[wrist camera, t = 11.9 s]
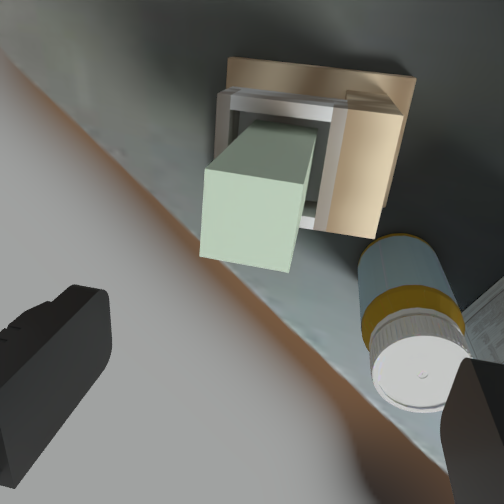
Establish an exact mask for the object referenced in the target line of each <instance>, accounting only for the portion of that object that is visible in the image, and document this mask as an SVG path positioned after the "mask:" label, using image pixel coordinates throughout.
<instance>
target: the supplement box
mask: <svg viewBox="0 0 504 504" xmlns="http://www.w3.org/2000/svg"><path fill="white" fill-rule="evenodd" d="M461 314H462V316H463V320H464V323H465V336H464V338H465V340H466V342H467V345H468V347H469V350H470V352H471V355H472V357H473V359H478V360H483V361H489V362H494V363H500V364H504V277H502V278H501V279H500V280H499V281H498V282H497V283H495V284H494V285H493V286H492V287H491V288H490V289H489V290H487V291H486V292H485V293H484V294H483V295H482V296H480V297H479V298H478V299H477V300H476V301H475V302H474V303H472V304H471V305H470V306H469V307H468V308H467V309H465V310H464V311H463V312H462V313H461Z"/></svg>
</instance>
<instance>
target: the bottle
mask: <svg viewBox="0 0 504 504" xmlns="http://www.w3.org/2000/svg"><path fill="white" fill-rule="evenodd" d="M358 285H359V301H360V316H361V331H362V337H363V341H364V343H365V345H366V348H367V349H368V351H369V352H370V354H369V355H370V367H371V376H372V381H373V384H374V385H375V388H376V390H377V391H378V393H379V394H380V395H381V396H382V397H383V398H384V399H385V400H386V401H387V402H389V403H390V404H392V405H394V406H396V407H398V408H400V409H403V410H406V411H411V412H418V413H430V412H437V411H441V410H443V409H444V406H445V403H446V401H447V398H448V395H449V393H450V390H451V387H452V384H453V382H454V379H455V376H456V374H457V371H458V368H459V366H460V363H461V362H462V360H463V359H464V358H466V357H467V358H472V359H473V357H472V355H471V352H470V350H469V347H468V345H467V342H466V340H465V338H464V336H465V323H464V320H463V316H462V314H461V310H460V308H459V306H458V303H457V301H456V299H455V296H454V294H453V292H452V289H451V287H450V285H449V283H448V280H447V278H446V276H445V273H444V271H443V269H442V266H441V264H440V262H439V259H438V257H437V255H436V253H435V251H434V250H433V249H432V247H431V246H430V245H429V244H428V243H427V242H426V241H424V240H422V239H421V238H419V237H417V236H414V235H410V234H405V233H396V234H389V235H386V236H383V237H380V238H378V239H376V240H375V241H373V242H372V243H370V244H369V245H368V246H367V247H366V249H365V250H364V251H363V252H362V254H361V257H360V259H359V262H358Z"/></svg>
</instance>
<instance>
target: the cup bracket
mask: <svg viewBox="0 0 504 504" xmlns="http://www.w3.org/2000/svg"><path fill="white" fill-rule="evenodd" d="M416 79H417V78H415V77H413V76H406V75H397V74H387V73H378V72H369V71H360V70H351V69H342V68H333V67H324V66H315V65H306V64H297V63H288V62H279V61H270V60H261V59H251V58H242V57H228V64H227V80H226V90H223V91H221V92H219V93H217V108H216V127H215V146H214V159H216V158H217V157H218V156H219V155H220V154H221V153H222V152H223V151H224V150H225V149H226V148H227V147H228V146H229V145H230V144H231V143H232V142H233V141H234V140H235V139H236V138H237V137H238V136H239V135H240V134H241V133H242V132H243V131H244V130H246V129H247V128H248V127H249V126H250V125H251V124H252V123H253V122H254V121H255V120H256V119H257V120H264V121H271V122H278V123H285V124H291V125H298V126H305V127H312V128H318V132H317V138H316V143H315V149H314V155H313V161H312V167H311V172H310V178H309V184H308V190H307V194H306V198H305V203H304V207H303V212H302V216H301V221H300V225H299V228H305V229H312V230H318V231H325V232H331V233H338V234H344V235H350V236H357V237H363V238H370V239H375V235H376V231H377V227H378V223H379V218H380V214H381V210H382V207H383V208H386V204H387V199H388V195H389V191H390V187H391V183H392V179H393V174H394V170H395V166H396V162H397V158H398V154H399V150H400V145H401V141H402V137H403V133H404V129H405V125H406V121H407V116H408V112H409V108H410V104H411V100H412V96H413V92H414V87H415V83H416Z"/></svg>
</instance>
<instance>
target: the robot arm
mask: <svg viewBox="0 0 504 504" xmlns="http://www.w3.org/2000/svg"><path fill="white" fill-rule="evenodd" d="M111 350H112V333H111V319H110V307H109V296H108V293H107V292H106V291H105V290H102V289H97V288H91V287H86V286H80V285H71V286H70V287H68V288H67V289H66V290H65V291H64V292H62V293H61V294H60V295H59V296H58V297H57V298H56V299H54V301H52V302H50V301H46V302H44V303H42V304H40V305H38V306H36V307H33V308H31V309H29V310H27V311H25V312H24V313H22V314H21V315H20V316H19V317H17V318H16V319H15V320H14V321H13V322H11V323H10V324H9V325H8V328H7V329H5V328H4V329H3V330H2V331H1V332H0V485H1V486H5V487H9V488H13V489H15V488H16V487H17V485H18V484H19V483H20V481H21V480H22V479H23V477H24V476H25V475H26V473H27V472H28V471H29V469H30V468H31V467H32V465H33V464H34V462H35V461H36V460H37V459H38V457H39V456H40V455H41V453H42V452H43V451H44V449H45V448H46V447H47V445H48V444H49V443H50V441H51V440H52V439H53V437H54V436H55V435H56V433H57V432H58V430H59V429H60V428H61V427H62V425H63V424H64V423H65V421H66V419H67V418H68V417H69V416H70V414H71V413H72V412H73V410H74V409H75V408H76V407H77V405H78V404H79V402H80V401H81V399H82V398H83V397H84V396H85V394H86V393H87V392H88V390H89V389H90V388H91V386H92V385H93V384H94V382H95V381H96V380H97V378H98V377H99V376H100V374H101V373H102V372H103V370H104V369H105V367H106V365H107V363H108V361H109V358H110V355H111ZM440 437H441V443H442V448H443V452H444V456H445V461H446V465H447V470H448V474H449V478H450V483H451V487H452V491H453V495H454V500H455V504H504V364H500V363H494V362H489V361H483V360H478V359H472V358H467V357H466V358H464V359H463V360H462V362H461V363H460V366H459V368H458V371H457V374H456V376H455V379H454V382H453V384H452V387H451V390H450V393H449V395H448V398H447V401H446V403H445V406H444V409H443V412H442V416H441V424H440Z"/></svg>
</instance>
